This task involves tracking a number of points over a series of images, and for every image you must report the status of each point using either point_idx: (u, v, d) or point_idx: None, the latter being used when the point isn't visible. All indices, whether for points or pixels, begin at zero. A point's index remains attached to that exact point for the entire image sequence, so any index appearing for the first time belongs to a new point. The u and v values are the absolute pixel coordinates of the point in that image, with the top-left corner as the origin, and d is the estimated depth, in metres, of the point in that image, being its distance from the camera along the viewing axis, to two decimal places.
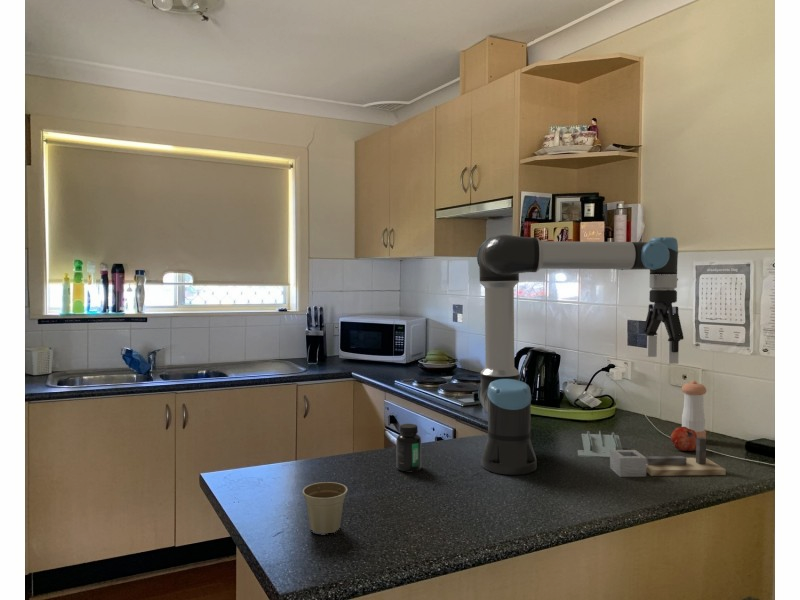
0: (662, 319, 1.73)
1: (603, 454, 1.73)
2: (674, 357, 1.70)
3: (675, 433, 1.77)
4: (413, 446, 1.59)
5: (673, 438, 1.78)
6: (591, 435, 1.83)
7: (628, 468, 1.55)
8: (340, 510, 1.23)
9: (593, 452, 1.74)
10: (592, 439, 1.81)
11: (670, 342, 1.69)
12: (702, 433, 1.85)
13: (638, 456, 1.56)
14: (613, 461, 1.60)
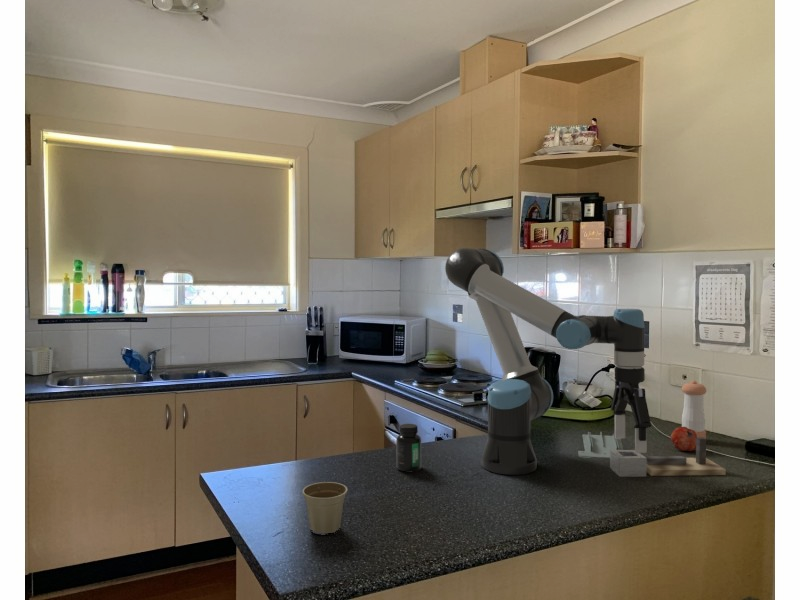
0: (628, 401, 1.54)
1: (604, 455, 1.72)
2: (642, 445, 1.51)
3: (675, 433, 1.77)
4: (413, 446, 1.59)
5: (673, 438, 1.78)
6: (592, 436, 1.82)
7: (628, 468, 1.55)
8: (340, 510, 1.23)
9: (594, 453, 1.73)
10: (593, 440, 1.80)
11: (637, 429, 1.51)
12: (702, 433, 1.85)
13: (638, 456, 1.56)
14: (613, 461, 1.60)
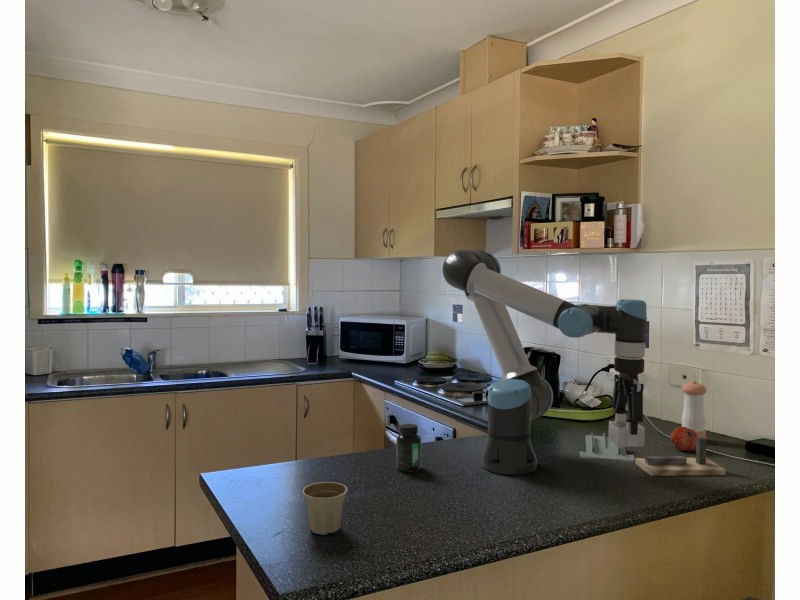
0: (625, 393, 1.56)
1: (605, 456, 1.71)
2: (633, 439, 1.55)
3: (675, 433, 1.77)
4: (413, 446, 1.59)
5: (673, 438, 1.78)
6: (595, 437, 1.81)
7: None
8: (340, 510, 1.23)
9: (595, 454, 1.72)
10: (595, 441, 1.79)
11: (629, 423, 1.54)
12: (702, 433, 1.85)
13: None
14: (612, 432, 1.59)
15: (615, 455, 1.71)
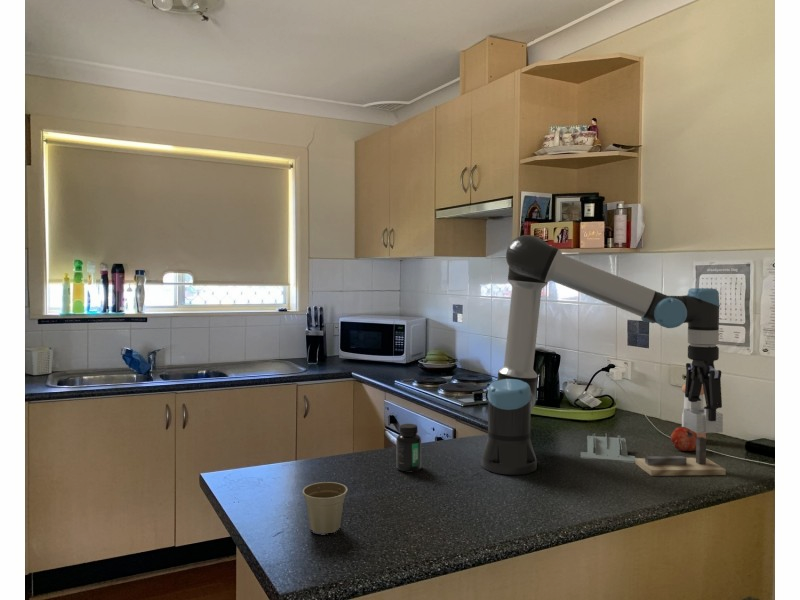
0: (701, 380, 1.58)
1: (606, 457, 1.70)
2: (711, 426, 1.56)
3: (675, 433, 1.77)
4: (413, 446, 1.59)
5: (673, 438, 1.78)
6: (597, 437, 1.80)
7: None
8: (340, 510, 1.23)
9: (596, 454, 1.72)
10: (597, 441, 1.78)
11: (707, 410, 1.56)
12: (702, 433, 1.85)
13: None
14: (688, 419, 1.61)
15: (616, 456, 1.70)
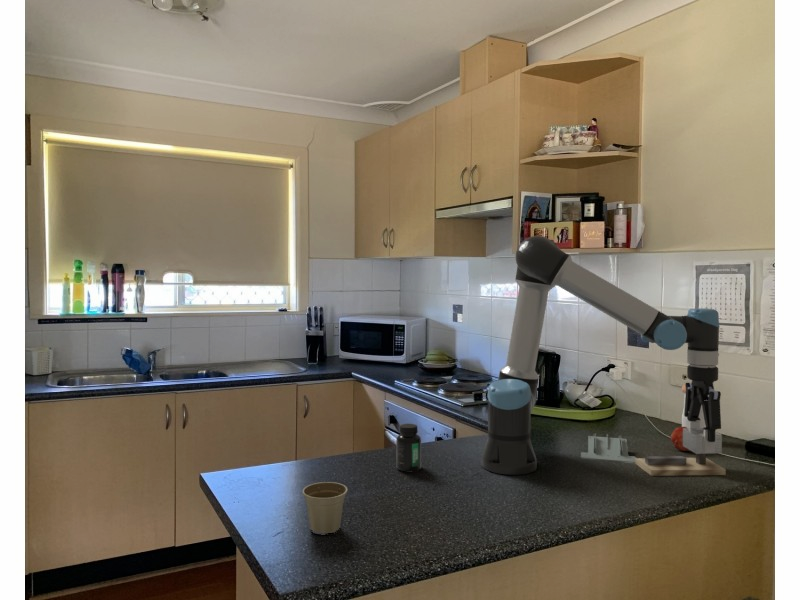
0: (700, 401, 1.58)
1: (606, 457, 1.70)
2: (710, 446, 1.57)
3: (675, 433, 1.77)
4: (413, 446, 1.59)
5: (673, 438, 1.78)
6: (598, 438, 1.80)
7: None
8: (340, 510, 1.23)
9: (596, 455, 1.71)
10: (598, 442, 1.78)
11: (706, 430, 1.57)
12: None
13: None
14: (687, 439, 1.62)
15: (617, 456, 1.70)
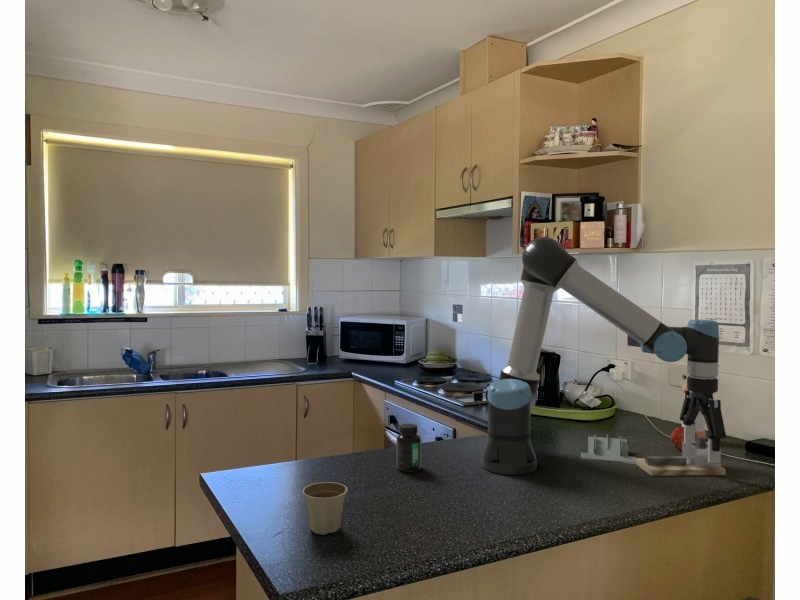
0: (702, 411, 1.57)
1: (606, 458, 1.69)
2: (715, 456, 1.54)
3: (675, 433, 1.77)
4: (413, 446, 1.59)
5: (673, 438, 1.78)
6: (598, 438, 1.79)
7: (703, 459, 1.58)
8: (340, 510, 1.23)
9: (596, 455, 1.71)
10: (598, 442, 1.77)
11: (710, 439, 1.54)
12: (702, 433, 1.85)
13: None
14: (687, 453, 1.62)
15: (617, 457, 1.69)
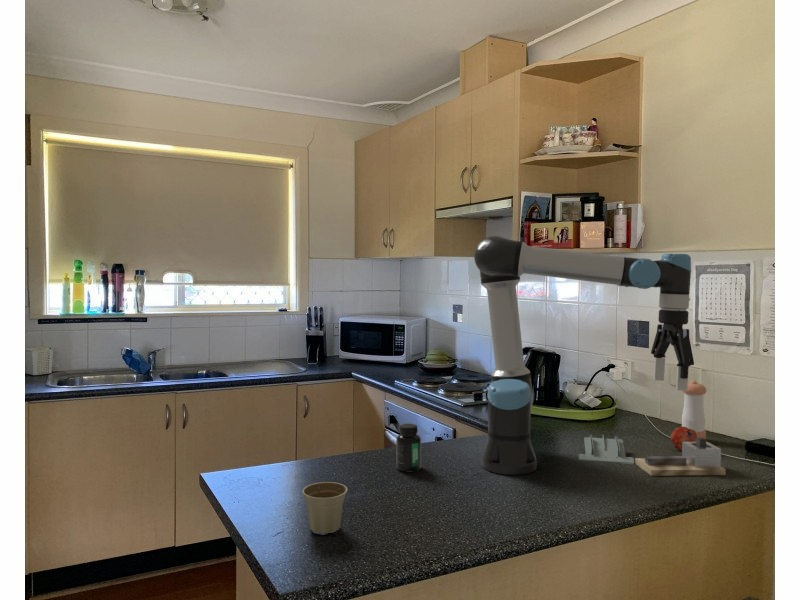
0: (671, 342, 1.60)
1: (604, 458, 1.69)
2: (683, 383, 1.57)
3: (675, 433, 1.77)
4: (413, 446, 1.59)
5: (673, 438, 1.78)
6: (594, 439, 1.79)
7: (703, 459, 1.58)
8: (340, 510, 1.23)
9: (594, 456, 1.70)
10: (595, 443, 1.77)
11: (679, 367, 1.57)
12: (702, 433, 1.85)
13: (712, 447, 1.59)
14: (687, 453, 1.62)
15: (614, 457, 1.69)
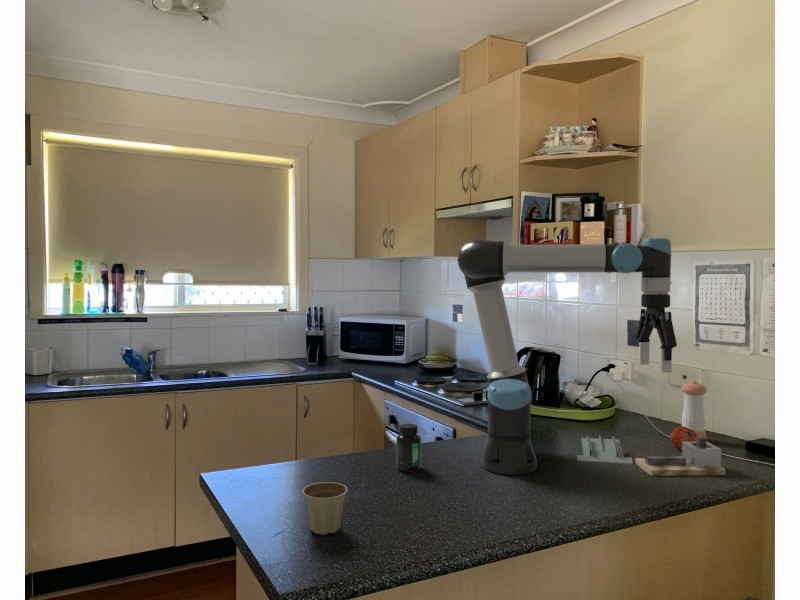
0: (654, 325, 1.63)
1: (603, 459, 1.68)
2: (667, 365, 1.60)
3: (675, 433, 1.77)
4: (413, 446, 1.59)
5: (673, 438, 1.78)
6: (591, 439, 1.78)
7: (703, 459, 1.58)
8: (340, 510, 1.23)
9: (593, 457, 1.69)
10: (592, 444, 1.76)
11: (663, 350, 1.59)
12: (702, 433, 1.85)
13: (712, 447, 1.59)
14: (687, 453, 1.62)
15: (613, 458, 1.68)
